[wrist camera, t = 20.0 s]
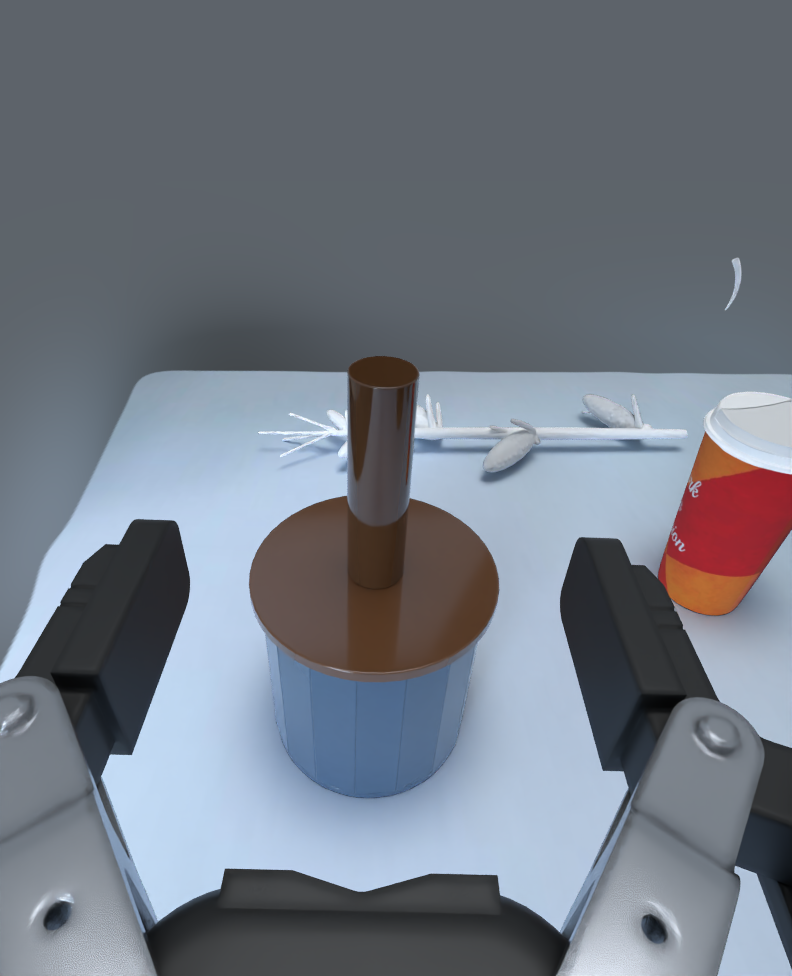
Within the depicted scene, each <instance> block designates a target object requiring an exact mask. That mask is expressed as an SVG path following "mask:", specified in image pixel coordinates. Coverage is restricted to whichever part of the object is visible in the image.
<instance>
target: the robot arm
mask: <svg viewBox="0 0 792 976" xmlns="http://www.w3.org/2000/svg"><path fill="white" fill-rule="evenodd" d="M189 592H190V576H189V571H188V567H187V562H186V558H185V553H184V549H183V545H182V540H181V536H180V531H179V528H178V525H177V523H176V522H175V521H170V520H144V519H136V520H134V521H133V522H132V523H131V524H130V526H129V528H128V529H127V531H126V533H125V535H124V537H123V539H122V541H121V542H120V544H119V545H111V544H105V545H104V546H103V547H102V548H100V549H99V550H98V551H97V552H96V553H94V554H93V555H92V556H91V557H90V558H89V559H87V560H86V561H85V562H84V563H83V565H82V566H81V568H80V570H79V571H78V573H77V575H76V576H75V578H74V580H73V581H72V583H71V588H70V589H68V590H67V592H66V593H65V595H64V597H63V598H62V600H61V605H60V607H59V606H58V607H57V609H56V610H55V612H54V614H53V615H52V617H51V619H50V620H49V622H48V624H47V625H46V627H45V629H44V631H43V632H42V634H41V636H40V637H39V639H38V641H37V642H36V644H35V646H34V648H33V649H32V651H31V653H30V654H29V656H28V658H27V659H26V661H25V663H24V664H23V666H22V668H21V670H20V671H19V673H18V674H17V676H16V677H15V678H14V679H11V680H8V681H5V682H3V683H0V976H717V975H718V971H719V967H720V964H721V960H722V956H723V952H724V949H725V945H726V941H727V938H728V934H729V930H730V926H731V923H732V919H733V915H734V912H735V908H736V904H737V900H738V896H739V891H740V877H739V876H738V875H737V874H735V873H734V867H735V866H738V867H741V868H743V869H746V870H749V871H751V872H754V873H757V876H758V879H759V881H760V884H761V887H762V889H763V892H764V895H765V898H766V900H767V903H768V906H769V908H770V911H771V914H772V917H773V919H774V922H775V925H776V927H777V930H778V933H779V936H780V938H781V941H782V944H783V947H784V949H785V952H786V955H787V957H788V960H789V963H790V966H791V968H792V748H789V747H786V746H783V745H780V744H777V743H774V742H771V741H768V740H766V739H763V738H761V737H759V735H758V734H757V732H756V731H755V729H754V728H753V726H752V725H751V724H750V723H749V722H748V721H747V720H746V719H745V718H744V717H743V716H742V715H741V714H739V713H738V712H737V711H735V710H734V709H732V708H731V707H729V706H727V705H725V704H723V703H721V702H720V701H719V700H718V698H717V696H716V694H715V692H714V690H713V688H712V685H711V683H710V681H709V679H708V677H707V675H706V673H705V671H704V668H703V666H702V664H701V662H700V660H699V658H698V656H697V654H696V652H695V649H694V647H693V645H692V643H691V641H690V639H689V637H688V635H687V633H686V630H683V624H682V622H681V620H680V618H679V616H678V614H677V611H674V605H673V603H672V601H671V599H670V597H669V595H668V592H667V590H666V588H665V586H664V585H663V584H662V583H661V582H660V581H659V580H658V579H657V578H656V577H655V576H654V574H653V573H652V572H651V571H650V570H649V569H648V568H647V567H646V566H643V565H631V563H630V561H629V559H628V556H627V554H626V552H625V549H624V547H623V545H622V543H621V541H620V540H618V539H611V538H585V537H581V538H579V539H578V540H577V542H576V544H575V547H574V550H573V554H572V557H571V560H570V563H569V567H568V570H567V573H566V577H565V580H564V583H563V586H562V590H561V596H560V612H561V619H562V623H563V626H564V630H565V634H566V637H567V641H568V645H569V648H570V652H571V656H572V659H573V663H574V667H575V670H576V674H577V678H578V681H579V685H580V689H581V692H582V696H583V700H584V703H585V707H586V711H587V714H588V718H589V722H590V725H591V729H592V733H593V736H594V740H595V744H596V747H597V751H598V755H599V758H600V762H601V766H602V769H603V771H624V774H625V777H626V780H627V784H628V787H629V788H628V790H627V792H626V793H625V795H624V798H623V800H622V802H621V804H620V806H619V808H618V811H617V813H616V815H615V817H614V819H613V821H612V824H611V826H610V828H609V830H608V832H607V834H606V837H605V839H604V841H603V843H602V845H601V847H600V849H599V852H598V854H597V856H596V858H595V860H594V862H593V865H592V867H591V869H590V871H589V873H588V875H587V878H586V880H585V882H584V884H583V886H582V888H581V890H580V892H579V894H578V896H577V898H576V899H575V901H574V903H573V905H572V907H571V909H570V911H569V913H568V916H567V918H566V920H565V922H564V924H563V926H562V928H561V930H560V932H559V931H558V930H557V929H556V928H554V927H553V926H552V925H551V924H550V923H548V922H547V921H546V920H545V919H543V918H542V917H541V916H539V915H538V914H536V913H535V912H533V911H532V910H530V909H529V908H527V907H526V906H523V905H521V904H519V903H517V902H515V901H513V900H511V899H509V898H506V897H503V896H500V893H499V884H498V876H497V875H463V874H428V875H425V876H421V877H417V878H414V879H410V880H407V881H403V882H399V883H396V884H392V885H389V886H385V887H381V888H378V889H374V890H371V891H366V892H357V891H353V890H350V889H347V888H344V887H341V886H338V885H335V884H332V883H329V882H326V881H323V880H320V879H317V878H314V877H311V876H308V875H305V874H302V873H299V872H296V871H293V870H258V869H225V871H224V876H223V881H222V886H221V889H219V890H215V891H212V892H209V893H206V894H204V895H202V896H199V897H197V898H194V899H192V900H191V901H189V902H187V903H185V904H184V905H182V906H180V907H178V908H176V909H175V910H174V911H172V912H171V913H170V914H168V915H167V916H165V917H164V918H163V919H161V920H160V921H159V922H158V920H157V918H156V915H155V912H154V910H153V907H152V905H151V902H150V900H149V898H148V895H147V893H146V891H145V888H144V886H143V884H142V881H141V879H140V877H139V874H138V872H137V869H136V867H135V864H134V862H133V859H132V856H131V854H130V851H129V848H128V845H127V843H126V840H125V837H124V835H123V832H122V829H121V827H120V824H119V821H118V819H117V816H116V813H115V811H114V808H113V805H112V803H111V800H110V797H109V795H108V792H107V789H106V787H105V784H104V781H103V779H102V777H101V775H102V773H103V770H104V768H105V765H106V763H107V760H108V758H109V755H110V754H116V755H132V753H133V750H134V747H135V745H136V742H137V739H138V736H139V734H140V731H141V728H142V726H143V723H144V720H145V717H146V715H147V712H148V709H149V707H150V704H151V701H152V698H153V696H154V693H155V690H156V688H157V685H158V682H159V679H160V677H161V674H162V671H163V669H164V666H165V663H166V660H167V658H168V655H169V652H170V650H171V647H172V644H173V641H174V639H175V636H176V633H177V631H178V628H179V625H180V622H181V620H182V617H183V614H184V612H185V609H186V606H187V603H188V598H189Z"/></svg>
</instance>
